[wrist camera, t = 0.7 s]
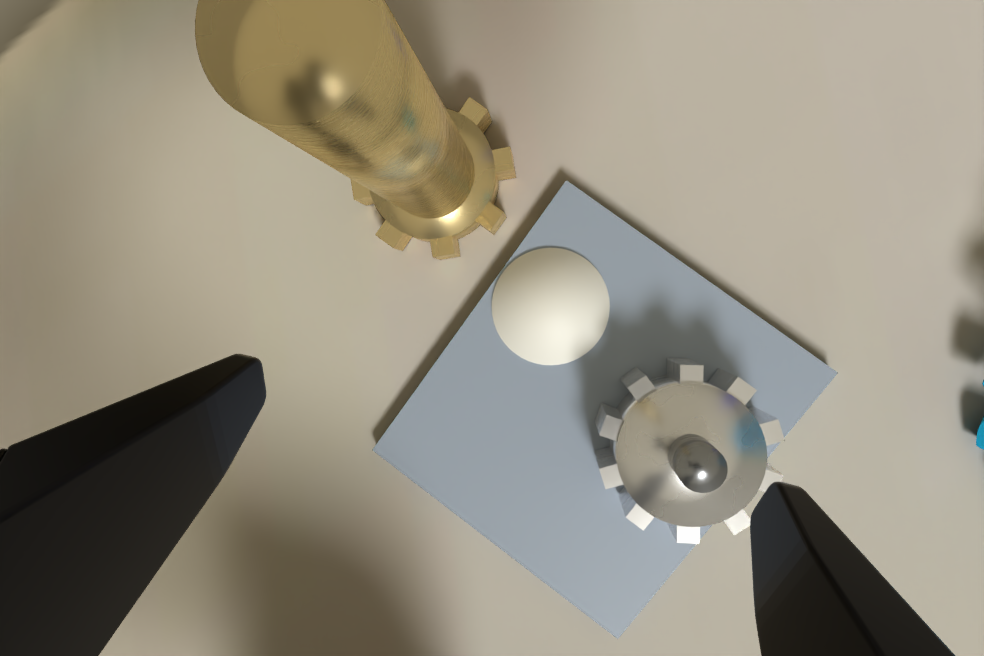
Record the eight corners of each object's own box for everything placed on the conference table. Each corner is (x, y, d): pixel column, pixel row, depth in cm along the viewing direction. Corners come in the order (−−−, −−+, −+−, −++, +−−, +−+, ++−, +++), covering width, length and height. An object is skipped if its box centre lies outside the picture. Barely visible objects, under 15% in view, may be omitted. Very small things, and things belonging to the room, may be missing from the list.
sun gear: (690, 547, 22) (721, 603, 18) (562, 452, 22) (564, 485, 18) (793, 422, 21) (849, 451, 17) (659, 326, 21) (683, 332, 17)
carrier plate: (616, 630, 23) (617, 640, 22) (376, 446, 24) (371, 450, 23) (829, 370, 21) (839, 373, 21) (565, 183, 22) (566, 179, 21)
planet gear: (455, 289, 23) (327, 276, 10) (335, 200, 23) (62, 78, 10) (546, 161, 22) (536, -34, 9) (421, 71, 23) (242, -234, 10)
